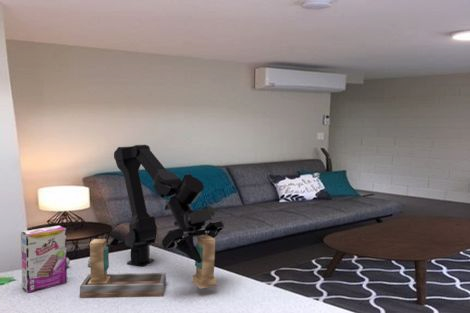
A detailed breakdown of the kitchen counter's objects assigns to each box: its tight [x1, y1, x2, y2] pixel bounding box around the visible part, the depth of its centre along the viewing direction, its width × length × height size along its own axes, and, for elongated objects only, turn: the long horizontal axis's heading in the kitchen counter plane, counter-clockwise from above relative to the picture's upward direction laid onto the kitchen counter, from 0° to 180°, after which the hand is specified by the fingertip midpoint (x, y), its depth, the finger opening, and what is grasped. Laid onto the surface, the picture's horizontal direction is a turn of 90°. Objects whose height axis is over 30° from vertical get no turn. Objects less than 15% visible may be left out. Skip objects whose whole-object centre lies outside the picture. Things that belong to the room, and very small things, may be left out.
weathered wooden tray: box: [79, 238, 167, 299], centre depth 121 cm, size 22×10×14 cm, turn 94°
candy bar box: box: [20, 225, 68, 293], centre depth 123 cm, size 11×5×16 cm, turn 134°
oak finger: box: [192, 236, 218, 289], centre depth 120 cm, size 5×5×13 cm
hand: (207, 260), depth 119 cm, fingers closed on oak finger, 5 cm apart
